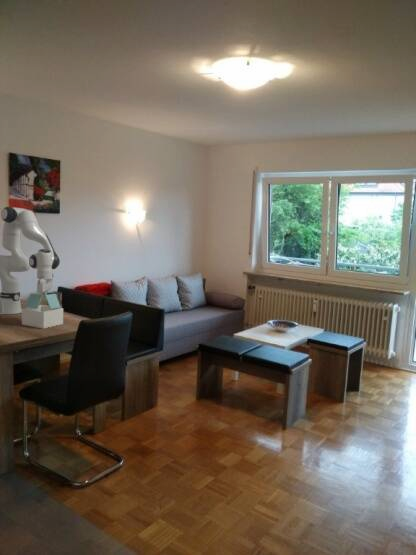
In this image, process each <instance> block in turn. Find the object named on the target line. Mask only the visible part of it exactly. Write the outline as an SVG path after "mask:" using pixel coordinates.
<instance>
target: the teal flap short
mask: <svg viewBox="0 0 416 555" xmlns="http://www.w3.org/2000/svg"><path fill="white" fill-rule="evenodd" d="M45 297H46V298H45V299H46V303H47V302H48V304H49V307H50V309H53V308H58V307H60V304H59V302H58V299H57V297H56V294H49V295H45Z"/></svg>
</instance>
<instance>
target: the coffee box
mask: <svg viewBox="0 0 416 555" xmlns="http://www.w3.org/2000/svg"><path fill="white" fill-rule="evenodd" d="M49 294H56V297H57V299H58V302H59V304H60V307H58V308H63V292H62V291H50V292H47V295H49ZM46 306H49V304H48V302H47V301H46Z"/></svg>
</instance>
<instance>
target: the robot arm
mask: <svg viewBox="0 0 416 555" xmlns="http://www.w3.org/2000/svg"><path fill="white" fill-rule="evenodd" d="M0 216H1V219H2V221H3V222H4V223H3V228H2V241H1V244H2V247H3V249H4V250H7V251H8V252H10V253H11V254H10V255H4V254H3V255H0V284H1V291H0V315H15V314H20V313H21V314H22V304H21V298H20V297H21V292H20V281H19V279H18V278H17V277H15V276H14V275H13V276H12V275H11V272H12V273H23V272H28V271H29V270H30V269H31V268H32V269H35V270H37V271H36V278H37V279H38V280H37V285H36V292H37V293H41V295H43V297H42V299H46V297H45V295H47V293H48V290H50V289H52V288H53V278H54V273H53V270H56V269H57V268H58V267H59V265H60V262H61V260H60V257H59V255H58V254H57V253H56V251H55V248H54V247H53V244H52V242H51V240H50V238H49V236H48V234H47V233H46V232H44V231H43V230H42V229H41V227H40V226H39V222H38V220H37V216H36V213H35V211H33V210H31V209H26V208H22V207H16V206H15V207H13V206H5V207H4V208H3V209H2V211H1V215H0ZM21 233H22V235H23V237H25V238H26V239H28V240H31V241H33V242H36V243H39V244H41V245H42V246H43V248H42V249H38V250H37V252H36V253H33V254H31V255H30V257H28V256H26V255H25V253H24V252H23V250H22V247H21Z"/></svg>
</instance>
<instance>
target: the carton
mask: <svg viewBox="0 0 416 555" xmlns="http://www.w3.org/2000/svg"><path fill="white" fill-rule="evenodd" d="M21 309H22V312H21V325H22V326H28V327H33V328H36V329H37V328H39V329H42V330H44V329H47V328H48V327H49V328H53V327H56V325H57V326H61V325H63V324H64V308H63V307H62V308H53V309H50V307H49V306H47V304H46V305H45V304H44V305H43V304H39V307H38V309H34V308H28V307H23V308H22V307H21ZM52 326H53V327H52Z"/></svg>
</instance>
